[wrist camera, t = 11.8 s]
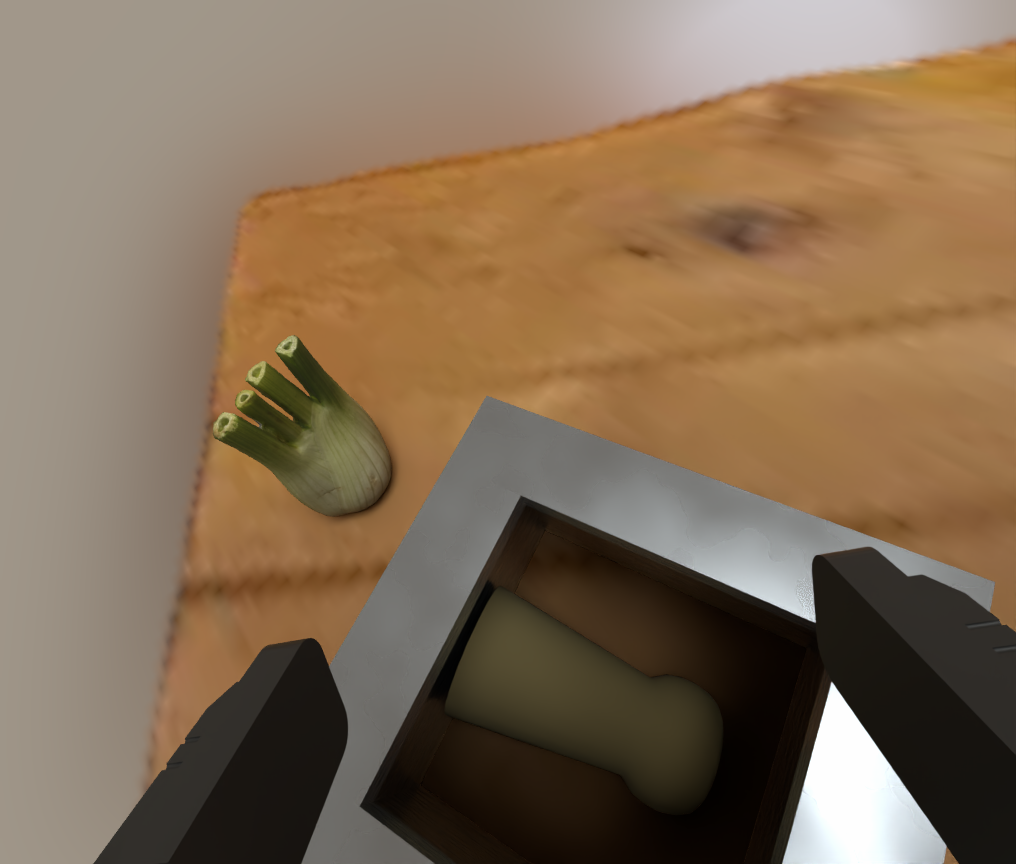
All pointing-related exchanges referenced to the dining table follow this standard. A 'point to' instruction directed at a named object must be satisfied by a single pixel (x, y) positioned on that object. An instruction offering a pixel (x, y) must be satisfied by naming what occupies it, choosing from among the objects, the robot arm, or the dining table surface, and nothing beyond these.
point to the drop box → (647, 550)
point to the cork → (587, 705)
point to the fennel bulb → (309, 435)
